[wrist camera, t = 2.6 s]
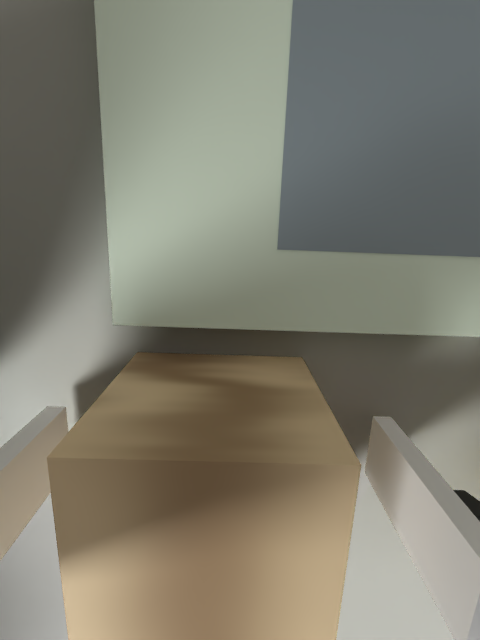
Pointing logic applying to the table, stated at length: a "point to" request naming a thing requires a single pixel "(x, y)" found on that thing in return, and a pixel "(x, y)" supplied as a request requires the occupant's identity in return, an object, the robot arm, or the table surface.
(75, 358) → the table surface
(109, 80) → the board
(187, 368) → the oak cube
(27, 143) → the table surface
